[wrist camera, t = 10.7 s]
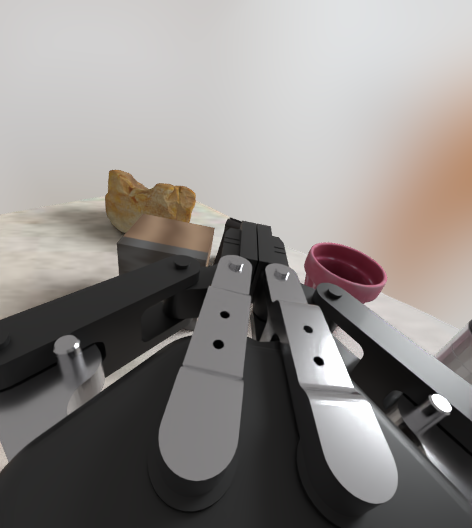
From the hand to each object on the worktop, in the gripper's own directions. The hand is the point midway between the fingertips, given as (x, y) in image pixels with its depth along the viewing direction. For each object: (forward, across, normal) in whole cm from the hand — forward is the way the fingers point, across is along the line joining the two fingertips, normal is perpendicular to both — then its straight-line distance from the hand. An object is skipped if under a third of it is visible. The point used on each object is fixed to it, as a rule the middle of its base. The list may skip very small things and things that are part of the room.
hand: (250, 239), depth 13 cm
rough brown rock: (+48, +18, +28) cm, 58 cm away
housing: (+22, +9, +28) cm, 37 cm away
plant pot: (+28, -22, +28) cm, 45 cm away
